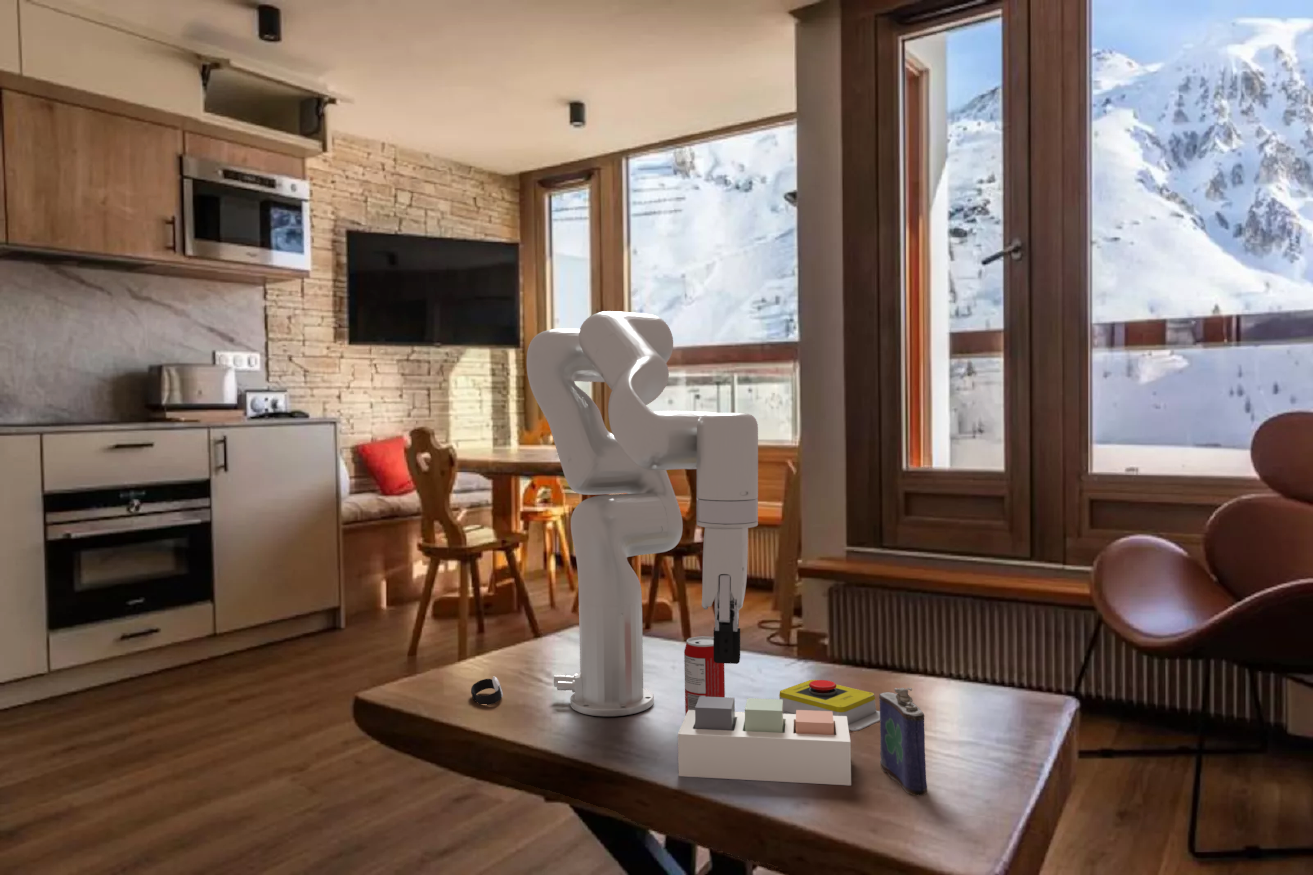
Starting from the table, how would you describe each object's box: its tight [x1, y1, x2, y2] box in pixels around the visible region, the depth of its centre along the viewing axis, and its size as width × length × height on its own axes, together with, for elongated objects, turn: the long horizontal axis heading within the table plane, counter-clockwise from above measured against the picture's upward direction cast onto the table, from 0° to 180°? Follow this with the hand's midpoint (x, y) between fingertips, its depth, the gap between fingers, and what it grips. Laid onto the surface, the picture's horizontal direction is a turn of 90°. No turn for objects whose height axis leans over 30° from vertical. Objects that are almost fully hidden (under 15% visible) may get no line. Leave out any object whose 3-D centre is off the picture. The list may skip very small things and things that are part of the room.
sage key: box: [744, 697, 784, 733], centre depth 103 cm, size 4×4×4 cm
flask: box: [878, 687, 928, 797], centre depth 99 cm, size 9×3×11 cm, turn 8°
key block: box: [677, 710, 852, 786], centre depth 103 cm, size 20×9×5 cm, turn 80°
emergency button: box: [778, 679, 880, 732], centre depth 123 cm, size 9×4×15 cm
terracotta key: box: [796, 710, 834, 735], centre depth 102 cm, size 4×4×4 cm
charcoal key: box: [695, 696, 736, 731], centre depth 104 cm, size 4×4×4 cm
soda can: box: [683, 636, 726, 716], centre depth 119 cm, size 6×6×12 cm
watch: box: [470, 675, 504, 706], centre depth 132 cm, size 8×5×4 cm, turn 26°
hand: (726, 661), depth 105 cm, fingers closed
